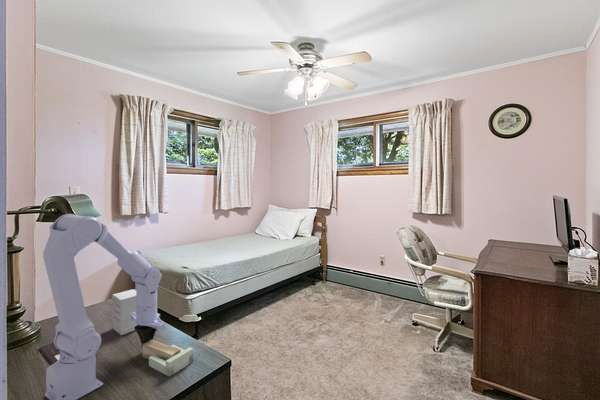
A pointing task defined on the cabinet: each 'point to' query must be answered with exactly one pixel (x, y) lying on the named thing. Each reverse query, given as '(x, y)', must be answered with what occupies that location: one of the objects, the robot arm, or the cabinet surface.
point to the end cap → (172, 361)
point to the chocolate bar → (51, 352)
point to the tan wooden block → (159, 350)
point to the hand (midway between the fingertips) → (146, 347)
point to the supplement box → (124, 311)
